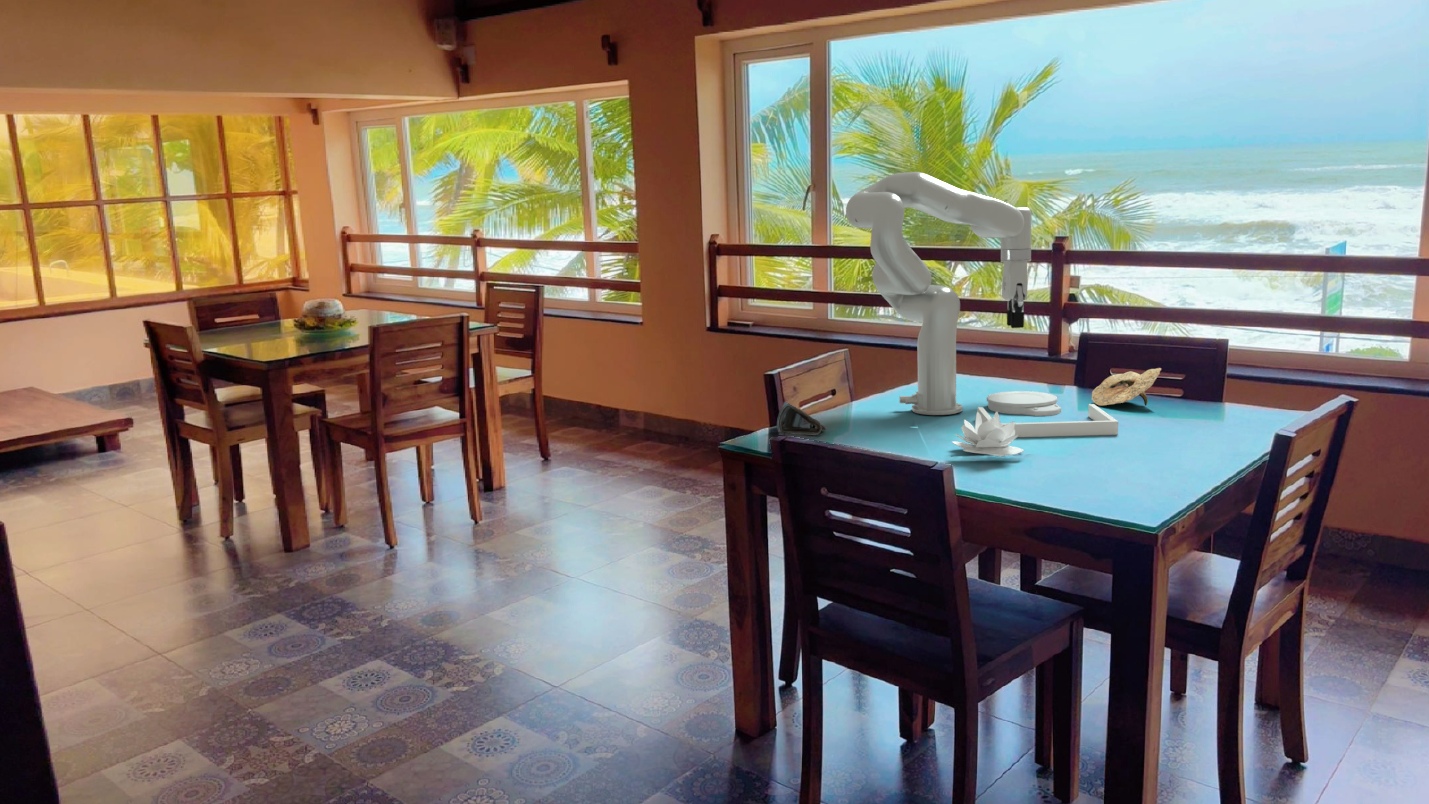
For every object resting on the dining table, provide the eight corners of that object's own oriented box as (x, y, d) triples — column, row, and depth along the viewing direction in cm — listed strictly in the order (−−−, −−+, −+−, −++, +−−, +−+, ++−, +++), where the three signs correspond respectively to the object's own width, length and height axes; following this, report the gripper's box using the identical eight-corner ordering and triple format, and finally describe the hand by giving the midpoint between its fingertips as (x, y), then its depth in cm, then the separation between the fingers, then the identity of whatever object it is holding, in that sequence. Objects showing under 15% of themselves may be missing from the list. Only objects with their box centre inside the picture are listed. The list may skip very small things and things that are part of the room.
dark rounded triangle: (837, 430, 250) (808, 393, 255) (824, 428, 244) (794, 390, 249) (810, 457, 253) (782, 420, 259) (796, 455, 247) (767, 418, 253)
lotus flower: (1011, 463, 215) (1011, 421, 214) (941, 456, 223) (940, 416, 222) (1032, 448, 227) (1032, 408, 225) (964, 442, 235) (964, 403, 234)
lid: (1024, 420, 255) (1024, 408, 254) (972, 407, 273) (972, 396, 272) (1080, 412, 261) (1080, 400, 261) (1025, 399, 279) (1025, 388, 279)
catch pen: (992, 437, 237) (992, 424, 237) (977, 419, 257) (977, 407, 256) (1118, 434, 235) (1118, 421, 234) (1093, 416, 255) (1093, 403, 254)
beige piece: (1089, 427, 269) (1076, 401, 268) (1112, 403, 278) (1100, 377, 277) (1154, 413, 255) (1141, 385, 254) (1177, 388, 264) (1164, 361, 263)
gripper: (995, 254, 282) (994, 323, 285) (1007, 258, 265) (1006, 331, 269) (1023, 253, 281) (1023, 322, 284) (1037, 257, 265) (1037, 329, 268)
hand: (1015, 325), depth 277 cm, fingers open, 4 cm apart
